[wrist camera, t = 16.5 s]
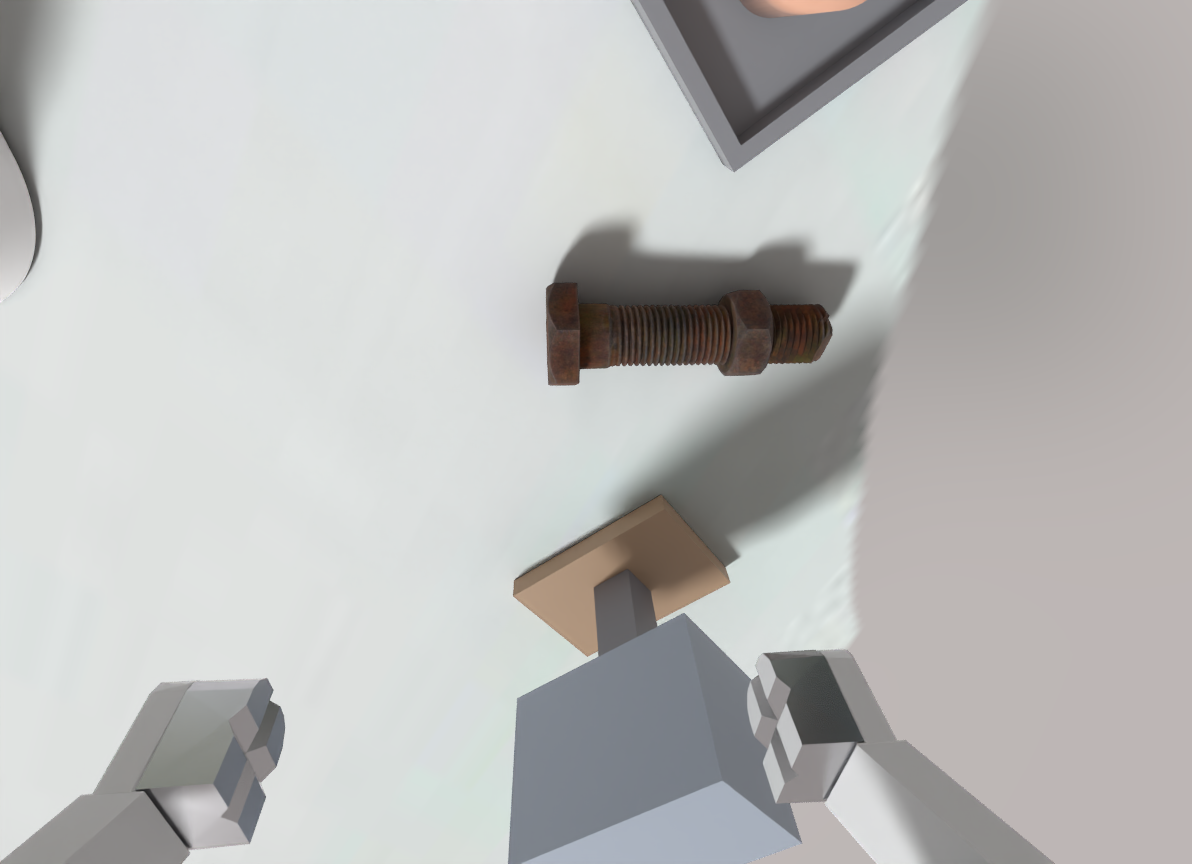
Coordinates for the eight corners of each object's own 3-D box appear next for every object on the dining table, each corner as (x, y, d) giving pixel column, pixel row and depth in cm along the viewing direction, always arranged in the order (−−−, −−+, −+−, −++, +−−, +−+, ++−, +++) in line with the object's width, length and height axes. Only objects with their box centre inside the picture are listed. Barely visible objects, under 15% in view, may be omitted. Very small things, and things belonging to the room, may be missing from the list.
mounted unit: (514, 580, 44) (493, 868, 29) (661, 494, 41) (726, 771, 25) (590, 644, 49) (608, 923, 33) (729, 572, 45) (820, 847, 30)
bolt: (793, 320, 36) (545, 322, 35) (827, 261, 32) (545, 260, 31) (815, 402, 34) (548, 408, 32) (856, 351, 29) (549, 355, 28)
